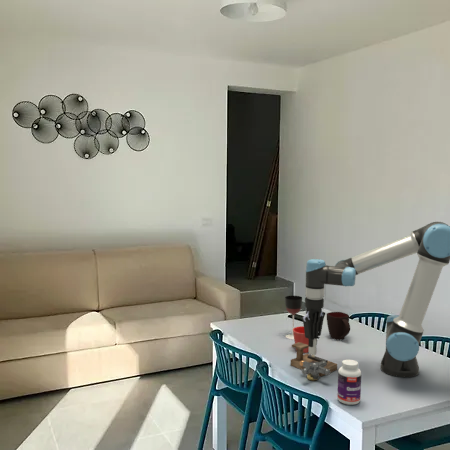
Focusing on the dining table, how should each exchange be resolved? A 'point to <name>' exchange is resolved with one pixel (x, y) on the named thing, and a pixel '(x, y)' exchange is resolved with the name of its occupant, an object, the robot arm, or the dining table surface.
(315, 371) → the capstan
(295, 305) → the wineglass
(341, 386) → the pill bottle
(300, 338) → the flower pot
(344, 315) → the cup
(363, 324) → the dining table surface
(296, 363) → the level stand
